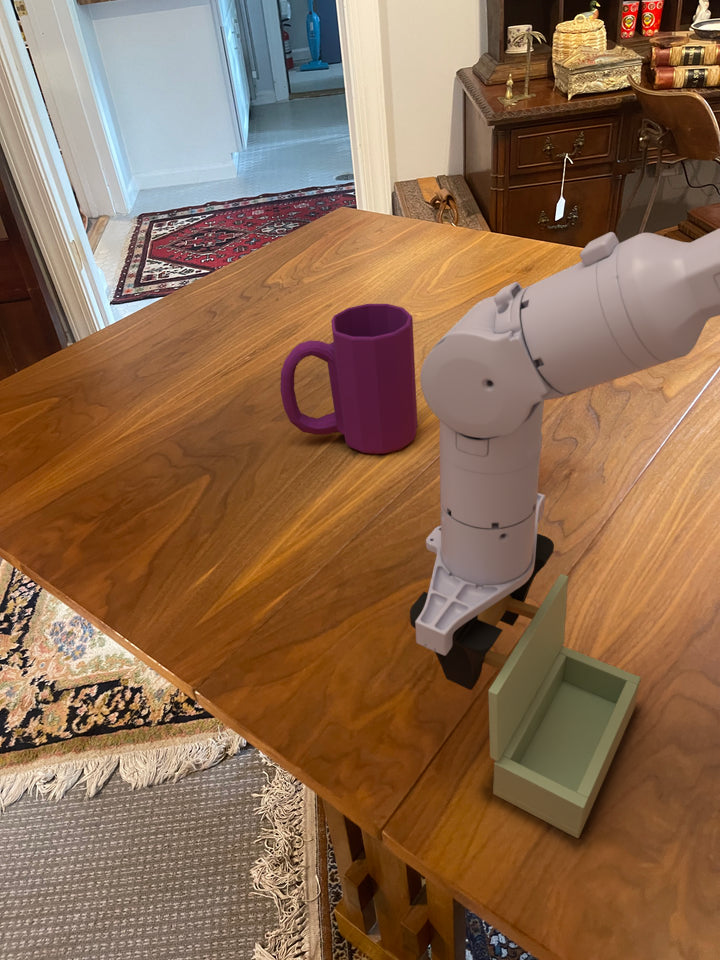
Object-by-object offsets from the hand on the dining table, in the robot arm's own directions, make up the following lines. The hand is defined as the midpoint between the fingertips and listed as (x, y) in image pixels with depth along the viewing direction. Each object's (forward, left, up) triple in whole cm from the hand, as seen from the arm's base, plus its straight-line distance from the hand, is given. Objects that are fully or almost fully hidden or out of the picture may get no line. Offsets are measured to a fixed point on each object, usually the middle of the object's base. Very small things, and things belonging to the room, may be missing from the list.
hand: (482, 647), depth 52 cm
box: (-7, 0, -7) cm, 10 cm away
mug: (+30, -27, -7) cm, 41 cm away
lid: (-4, 0, 0) cm, 4 cm away
